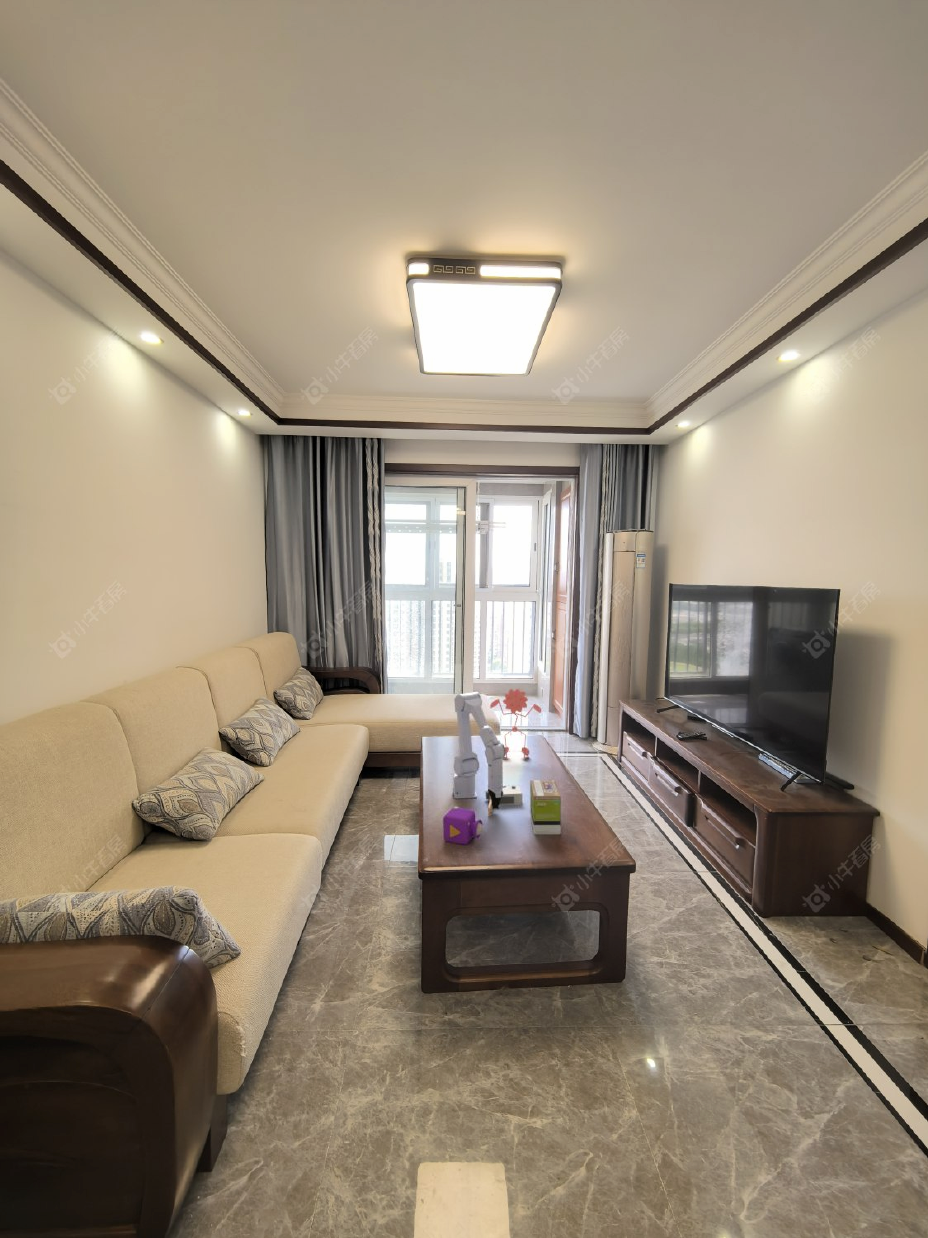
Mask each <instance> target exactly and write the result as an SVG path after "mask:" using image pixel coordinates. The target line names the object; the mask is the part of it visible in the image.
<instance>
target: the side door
mask: <svg viewBox="0 0 928 1238" xmlns="http://www.w3.org/2000/svg"><path fill="white" fill-rule="evenodd" d="M493 810H494V809H493V807H492V802H491V800H490V802H489V804H488V806H487V817H489V818H490V817H491V816H492V812H493Z"/></svg>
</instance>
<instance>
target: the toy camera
mask: <svg viewBox="0 0 928 1238" xmlns="http://www.w3.org/2000/svg"><path fill="white" fill-rule="evenodd" d="M442 818H443V819H442V820H443V821H442V823H443V826H442V828H443V829H442V830H443V831H442V832H443V833H442V834H443V839H444V840H443V841H445V842H449V843H454V844H460V845H467V844H468V843H469V842H470V841H471V840H472V839H473V837H474V838H475V839H477V840H478V839H480V838H481V835H482V833H483V820H482V819H478V820H476V812H475V811H474V810H472V809H467V808H462V807H459V806H455V805H454V807H452V808H451V809H450V810H449V811H448V812H447V813H446V814H444V816H443V817H442Z"/></svg>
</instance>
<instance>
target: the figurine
mask: <svg viewBox="0 0 928 1238" xmlns="http://www.w3.org/2000/svg"><path fill="white" fill-rule="evenodd" d="M525 695H526V692H525V691H523V690H522V691H521V690H520V689H519V688H517V689H515V690H514V689H512V688H509V691H508V693H505V694H504V699H503V700H502V703H503V704H504V705H505V709H506V710H510V712H507V713H506V712H505V713H504V709H503V707H502V704H501V702H500V699H499V698H497V699H495V700H493V701H492V702H491V703H490V705H489V708H490V709H493V708H495V707H496V706H497V705H499V707H500V710H501V713H502V715H504V716H505V715H515V716H516V718H515V723H514V726H513V727H512V728H511V730H510V731H508V732H507V733H505V736H506V735H508V734H509V733H511V732H512V731H513V732H520V733H521V734H523V735H524V743H526V739H527V734H525V733H524V732H523V731H521V730H520V729H518V727H517V726H516V725H517V721H518V717H519V716H521V717H524V718H527V716H529V714H530V713H531V711H532V710H533V709H534V710H535V711H536V712H538V713H540V714H541V713H542V708H541V707H540V706H539V705H537V704H536V703H534V704H533V705H532V707H531V708H530V710H529V711H528V712H527V713H526V715H523V714H519V713H522V712H523V708H524V709H526V708H528V704H527V702H528V700H529V698H527V696H525ZM517 712H518V713H517ZM506 738H507V737H504V747H505V750H506V755H505V760H506V761H507V760H508V752H510V747H509V746H507V740H506ZM523 746H524V747H521V751H520V752H521V753H522V754H523V760H524V761H526V756H527V757H529V755H530V749H529V748H528V747H526V744H524V745H523Z"/></svg>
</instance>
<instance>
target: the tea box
mask: <svg viewBox="0 0 928 1238" xmlns="http://www.w3.org/2000/svg"><path fill="white" fill-rule="evenodd" d="M529 787H530V788H529V791H530V793H529V794H530V797H529V799H530V800H529V801H530V804H529V805H530V806H529V807H530V808H529V809H530V819H531V826H532V830H533V835H561V834H562V833H561V832H562V831H561V829H562V828H561V825H562V823H561V822H562V821H561V820H562V819H561V818H562V817H561V815H562V814H561V813H562V812H561V811H562V809H561V808H562V806H561V805H562V804H561V803H562V801H561V798H562V797H561V793H560V792H559V788H558V785H557V782H556V780H555V779H553V780H552V779H548V780H547V779H546V780H545V779H544V780H541V779H538V780H537V779H535V780H532V779H530V780H529Z"/></svg>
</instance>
